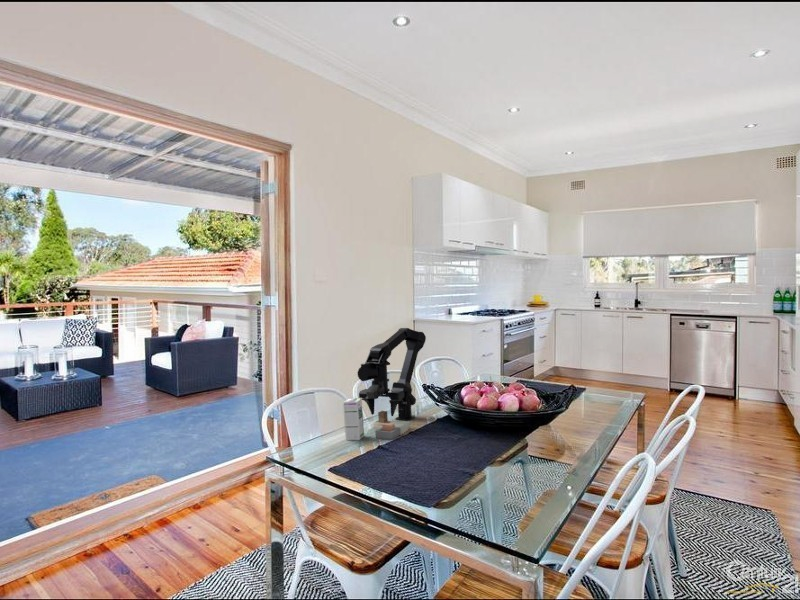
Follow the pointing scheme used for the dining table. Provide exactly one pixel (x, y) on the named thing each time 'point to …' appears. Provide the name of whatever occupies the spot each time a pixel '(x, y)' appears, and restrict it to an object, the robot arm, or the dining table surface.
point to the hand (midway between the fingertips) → (382, 415)
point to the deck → (401, 425)
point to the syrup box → (353, 419)
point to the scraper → (381, 419)
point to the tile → (388, 427)
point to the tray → (387, 434)
